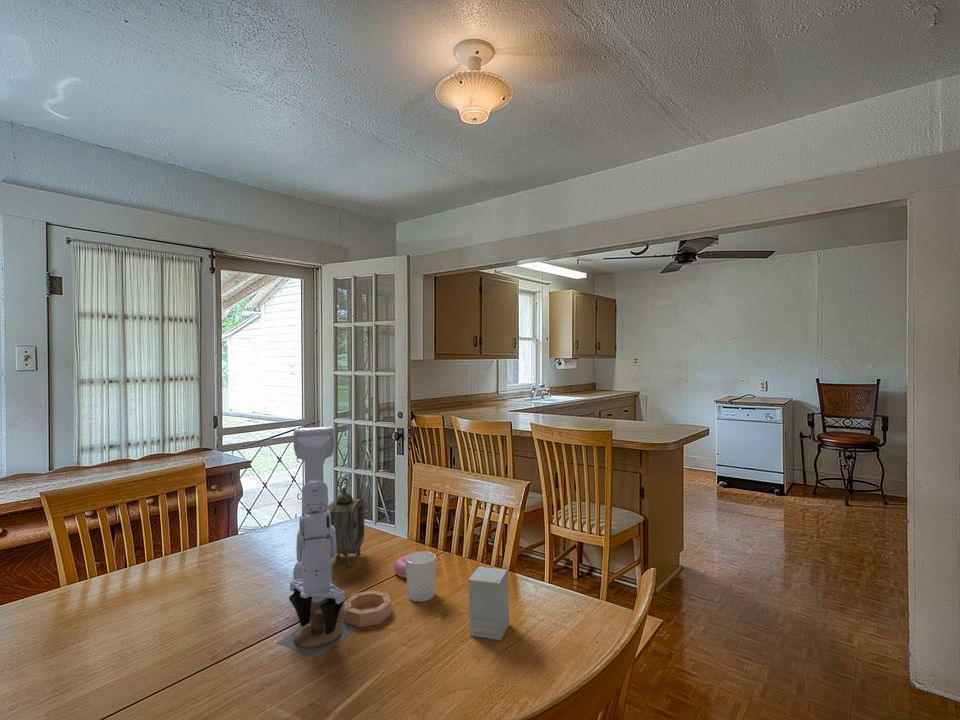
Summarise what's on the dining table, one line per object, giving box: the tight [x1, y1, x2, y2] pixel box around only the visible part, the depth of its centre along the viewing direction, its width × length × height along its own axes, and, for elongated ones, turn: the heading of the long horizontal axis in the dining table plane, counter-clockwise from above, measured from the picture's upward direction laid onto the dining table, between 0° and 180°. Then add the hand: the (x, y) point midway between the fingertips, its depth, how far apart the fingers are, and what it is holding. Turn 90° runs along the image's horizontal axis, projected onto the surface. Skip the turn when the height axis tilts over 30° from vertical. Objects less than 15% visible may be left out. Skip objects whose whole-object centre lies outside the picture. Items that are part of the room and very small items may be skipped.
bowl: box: [343, 590, 392, 628], centre depth 119 cm, size 11×11×4 cm
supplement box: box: [468, 566, 510, 642], centre depth 112 cm, size 7×7×13 cm
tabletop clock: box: [328, 477, 365, 568], centre depth 153 cm, size 14×9×25 cm, turn 179°
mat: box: [276, 620, 358, 658], centre depth 111 cm, size 12×12×1 cm
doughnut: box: [393, 553, 410, 579], centre depth 144 cm, size 11×11×4 cm
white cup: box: [405, 550, 437, 603], centre depth 129 cm, size 8×8×10 cm
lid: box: [294, 609, 341, 649], centre depth 111 cm, size 10×10×5 cm
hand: (317, 628), depth 111 cm, fingers open, 7 cm apart
